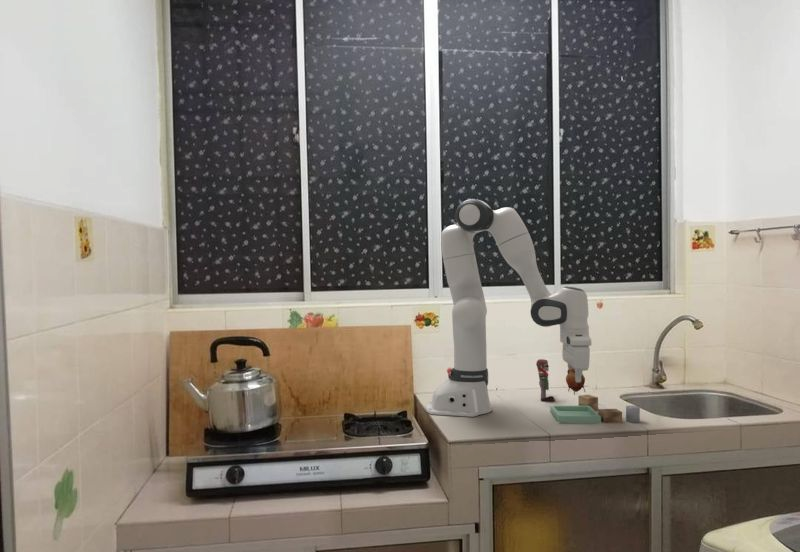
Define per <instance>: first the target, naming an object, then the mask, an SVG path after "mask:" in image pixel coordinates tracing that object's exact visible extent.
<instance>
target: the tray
mask: <svg viewBox="0 0 800 552" xmlns="http://www.w3.org/2000/svg"><path fill="white" fill-rule="evenodd" d="M549 412H550V413H551V415H552V416H553V417H554V419H555V420H556V421H557V423H559V424H560V423H561V424H564V423H565V424H570V423H571V424H602V422H601V416H600V415H599V414H598V411H595V410H594V409H592V408H591V407H590V406H578V405H561V404H560V405H556V404H555V405H553V404H552V405H551V404H550V405H549Z"/></svg>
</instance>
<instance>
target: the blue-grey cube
mask: <svg viewBox="0 0 800 552" xmlns="http://www.w3.org/2000/svg"><path fill="white" fill-rule="evenodd" d="M625 421H626V422H627V423H629V424H639V423H641V408H640V406H636V405H626V406H625Z"/></svg>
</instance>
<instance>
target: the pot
mask: <svg viewBox="0 0 800 552" xmlns="http://www.w3.org/2000/svg"><path fill="white" fill-rule="evenodd" d="M569 371H570V373H569ZM566 372H567V374H566V376H565V382H566V384H567V387H568V392H570V390H571V391H573V396H575V395H576V394H575V393H577V392H579V391H581V390H582V389H583V392H586V390H585V381H586V377H585V375H584V373H582V376H581V382H576V381H575V380H574V379H575V378H574V376H575V369H568V368H567V371H566Z"/></svg>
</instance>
